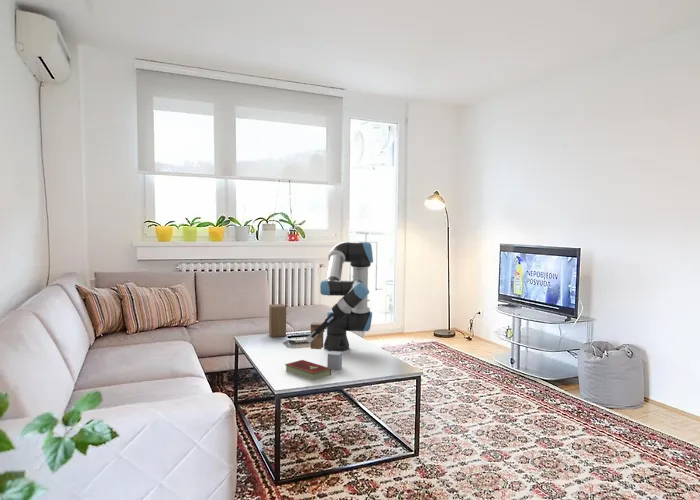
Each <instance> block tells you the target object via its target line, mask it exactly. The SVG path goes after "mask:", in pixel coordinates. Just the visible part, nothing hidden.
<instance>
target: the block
mask: <svg viewBox="0 0 700 500" xmlns="http://www.w3.org/2000/svg"><path fill="white" fill-rule="evenodd" d="M268 309H269V310H268V317H269V318H268V333H269V336H270V337H271V338H279V337H280V338H281V337H286V336H287V306H286V305H285V304H284V303H280V304H279V303H277V304H273V303H272V304H269V307H268Z"/></svg>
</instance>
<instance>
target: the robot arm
mask: <svg viewBox="0 0 700 500" xmlns="http://www.w3.org/2000/svg"><path fill="white" fill-rule="evenodd" d="M327 256H328V257H327V259H328V266H327V273H326V276H325V277H326V278H325V279H324V280H321V281H320V285H319V287H320V289H319V291H320V295H322V296H328V297H331V296H332V297H333V296H337V297H338V296H339V297H340V296H341V298H340V299H339V300H338V301H337V303H335V304H334V305H333V306H332V307H331V309H330V310H328V311H327V313H326V314H327V315H326V316H327V317H326V318H325V320H324V321H323V322H321V323H322V324H321V325H320V326H319V327H318V328H317V329H316V330H315V329H314V330H315V331H314V332H313V333H312V334H311V333H310V334H309V335H308V337H307V338H305V340H306V341H307V342H308V343H309V344H311V342H312V341H313V340H314V339H315V338H316V337H317V336H318V335H319V334H320V332H322V331H323V333H325V330H326V337H325V338H324V339H325V340H324V341H323V349H324V350H326V351H329V352H330V351H336V352H342V351H343V352H344V351H347V350H350V343H349V340H348V337H347V332H369V331H371V327H372V325H371V324H372V320H373V319H372V318H373V311H371V308H369V306H368V299H369V298H368V297H369V296H368V295H369V294H370V290H369V288H368V287H369V286H368V285H369V283H368V281H369V269H370V267H371V265H372V263H374V254H373V247H372V244H371V243H370V242H368V241H367V242H365V241H341V242H339V243H337V244H336V245H334V246H333V247H332V248H331V249H330V251H329V253H328V255H327ZM344 263H350V267H352V280H341V279H342V274H343V273H342V272H343V266H344Z"/></svg>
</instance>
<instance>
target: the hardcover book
mask: <svg viewBox="0 0 700 500" xmlns="http://www.w3.org/2000/svg"><path fill="white" fill-rule="evenodd" d="M284 365H285V372H288V373H291V374H292V375H297V376H300V377H302V378H305V379H308V380H310V381H316V380H321V379H322V378H326V377H329V376H332V373H333V372H332V371H333V370H331V368H328V367H327V366H324V365H321V364H318V363H314V362H311V361H308V360H305V359H301V360H300V359H299V360H297V361H291V362H289V363H284Z"/></svg>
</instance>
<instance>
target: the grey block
mask: <svg viewBox="0 0 700 500" xmlns="http://www.w3.org/2000/svg"><path fill="white" fill-rule="evenodd" d="M326 365H327V366H326V367H328V368H331V371H340V370H341V369H342V367H343V352H342V351H330V350H329V352H327V364H326Z"/></svg>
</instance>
